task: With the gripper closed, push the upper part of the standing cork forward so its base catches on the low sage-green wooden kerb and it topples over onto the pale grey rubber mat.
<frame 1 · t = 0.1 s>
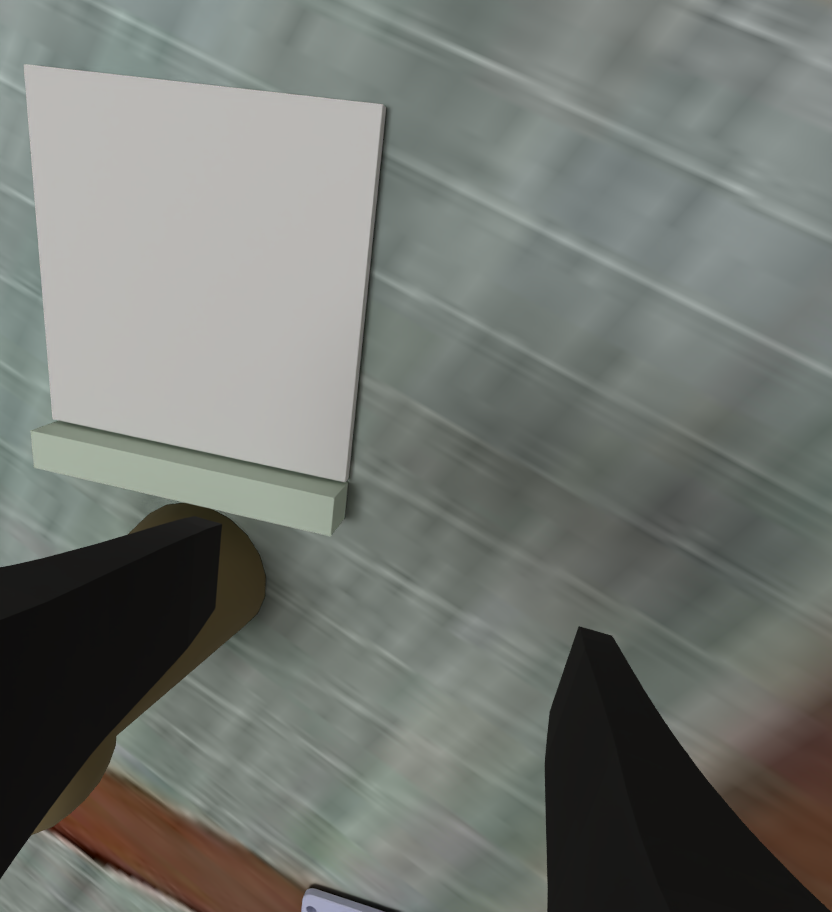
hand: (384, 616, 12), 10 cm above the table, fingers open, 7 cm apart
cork: (200, 568, 26), on the table
kerb: (198, 467, 24), on the table
mat: (199, 284, 21), on the table
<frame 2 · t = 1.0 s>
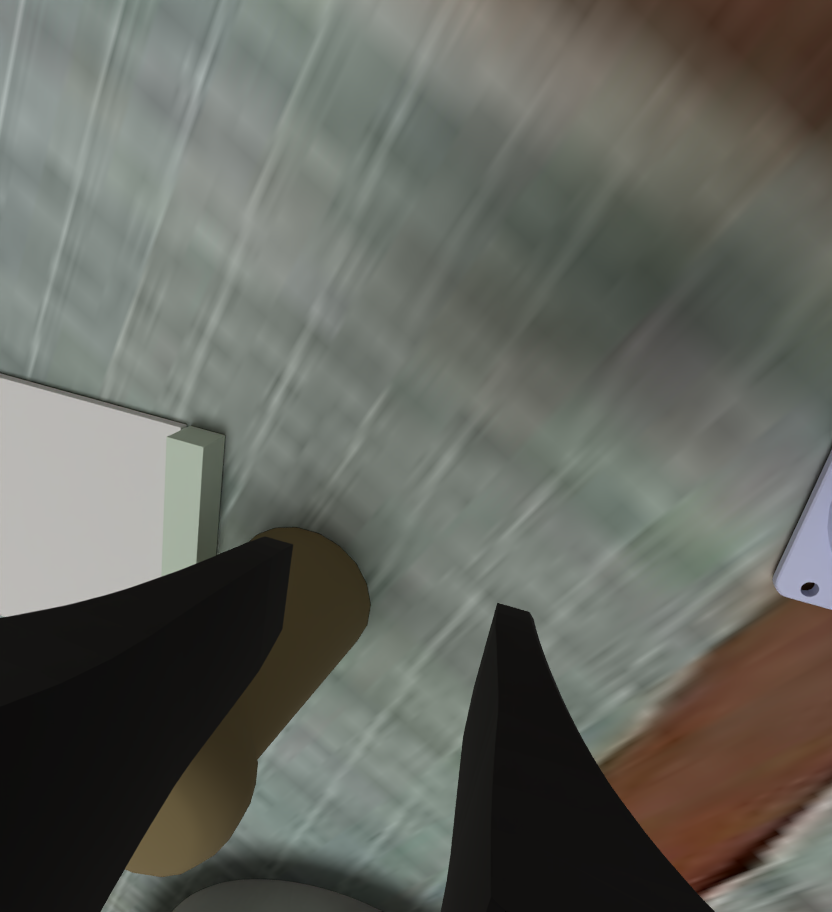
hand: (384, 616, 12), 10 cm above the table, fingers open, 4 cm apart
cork: (302, 591, 25), on the table
kerb: (199, 562, 26), on the table
mat: (58, 518, 27), on the table
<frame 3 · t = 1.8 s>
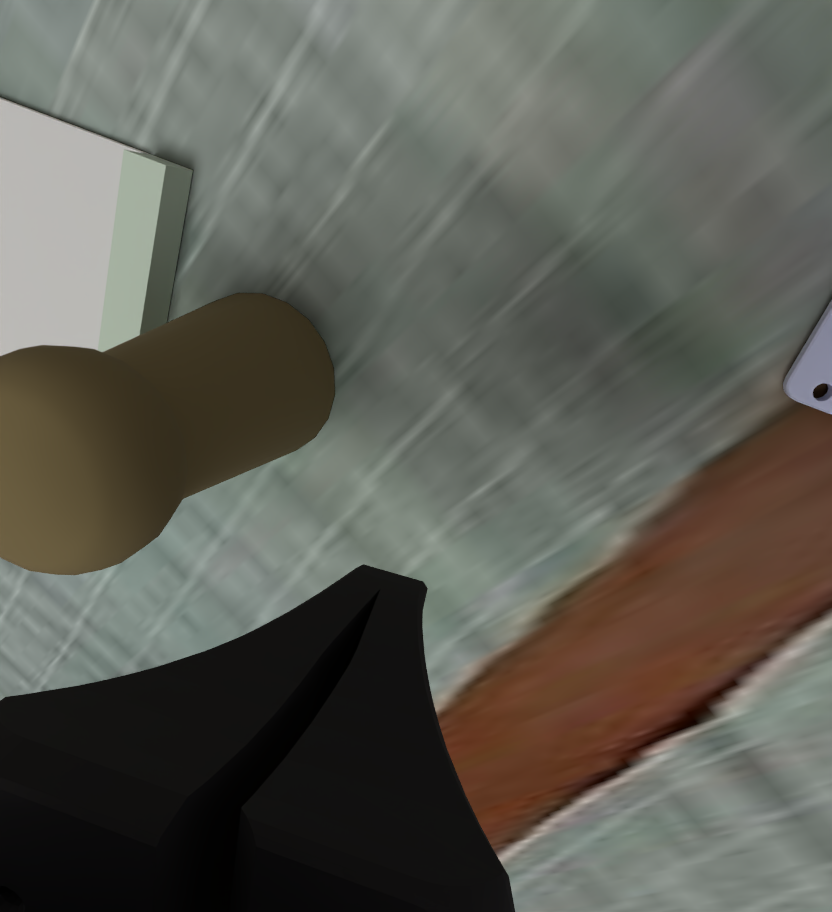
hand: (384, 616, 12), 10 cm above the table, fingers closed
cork: (259, 376, 23), on the table
kerb: (146, 332, 23), on the table
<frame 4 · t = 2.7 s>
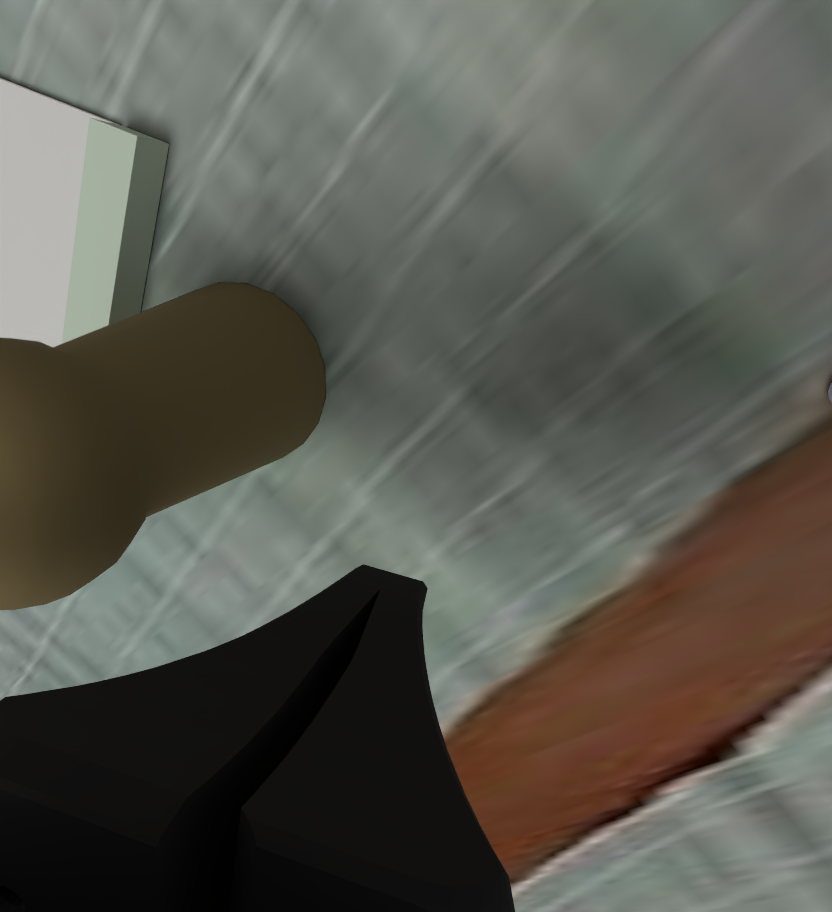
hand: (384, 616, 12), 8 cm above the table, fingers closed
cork: (242, 375, 21), on the table
kerb: (117, 324, 21), on the table
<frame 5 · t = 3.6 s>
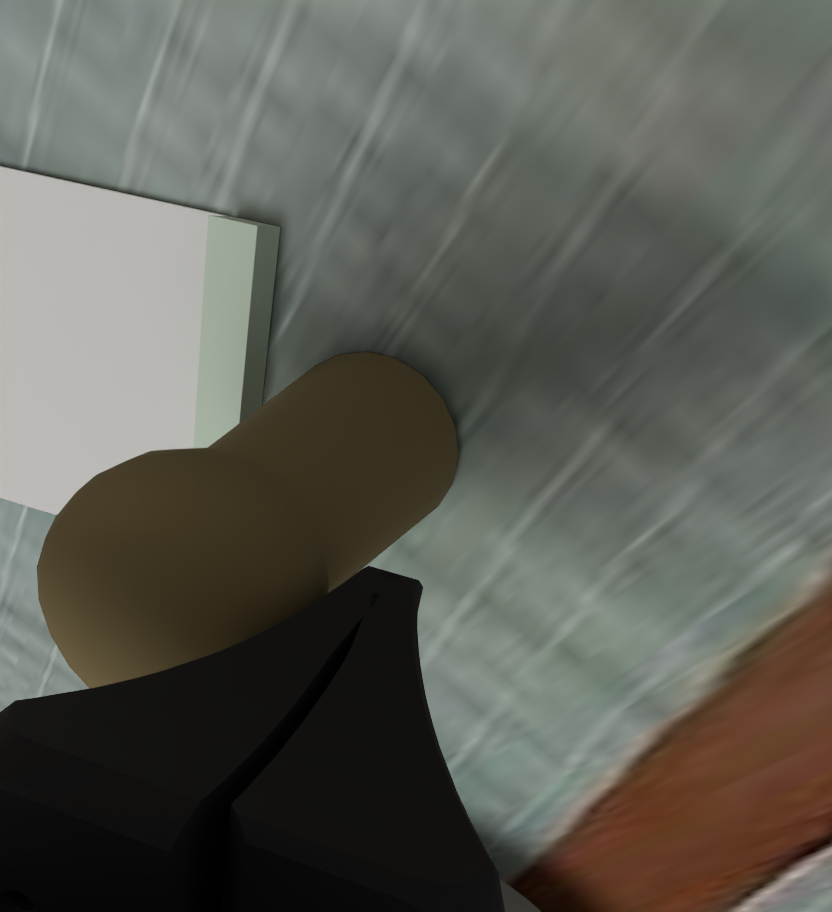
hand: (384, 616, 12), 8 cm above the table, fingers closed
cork: (369, 443, 20), on the table, touching gripper
kerb: (240, 408, 21), on the table
mat: (61, 361, 22), on the table
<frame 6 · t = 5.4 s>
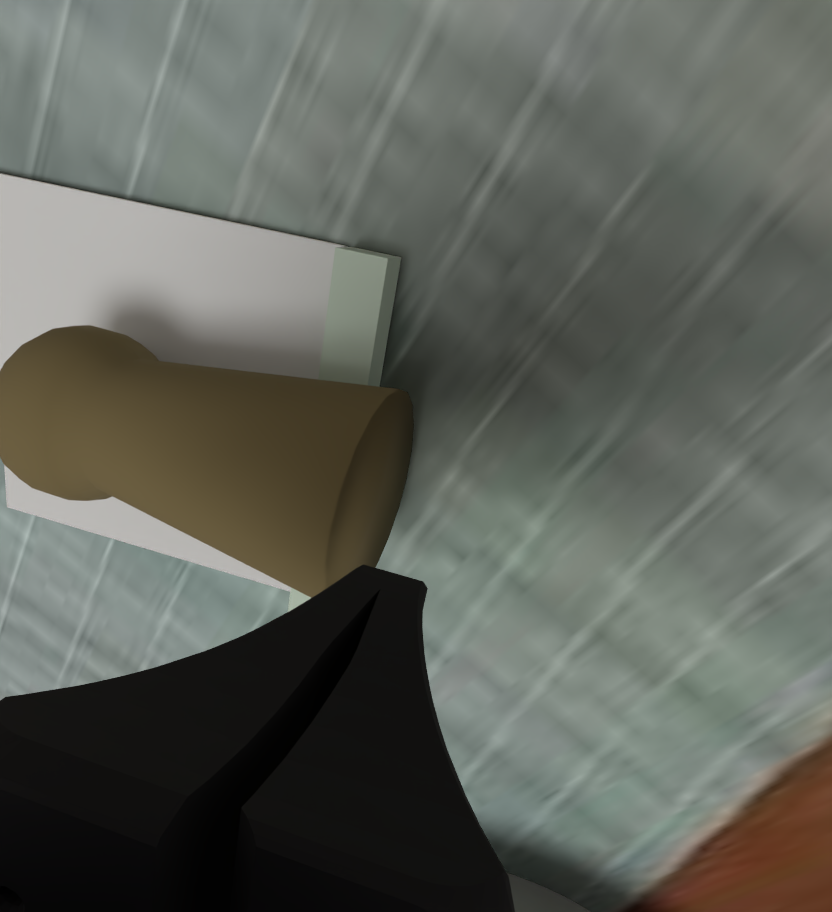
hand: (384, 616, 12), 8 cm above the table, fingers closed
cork: (381, 501, 16), point 4 cm above the table, touching kerb, mat
kerb: (347, 441, 20), on the table
mat: (158, 392, 21), on the table
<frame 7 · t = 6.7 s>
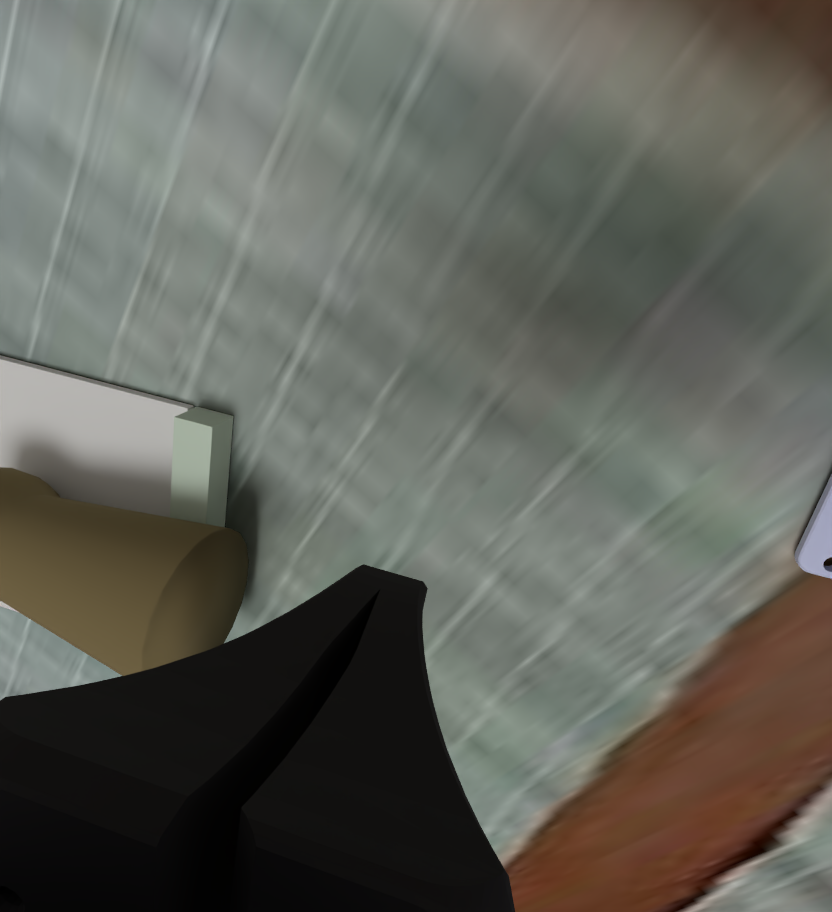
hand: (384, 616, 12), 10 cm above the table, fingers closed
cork: (206, 612, 22), point 4 cm above the table, touching kerb, mat
kerb: (205, 548, 25), on the table
mat: (59, 504, 26), on the table
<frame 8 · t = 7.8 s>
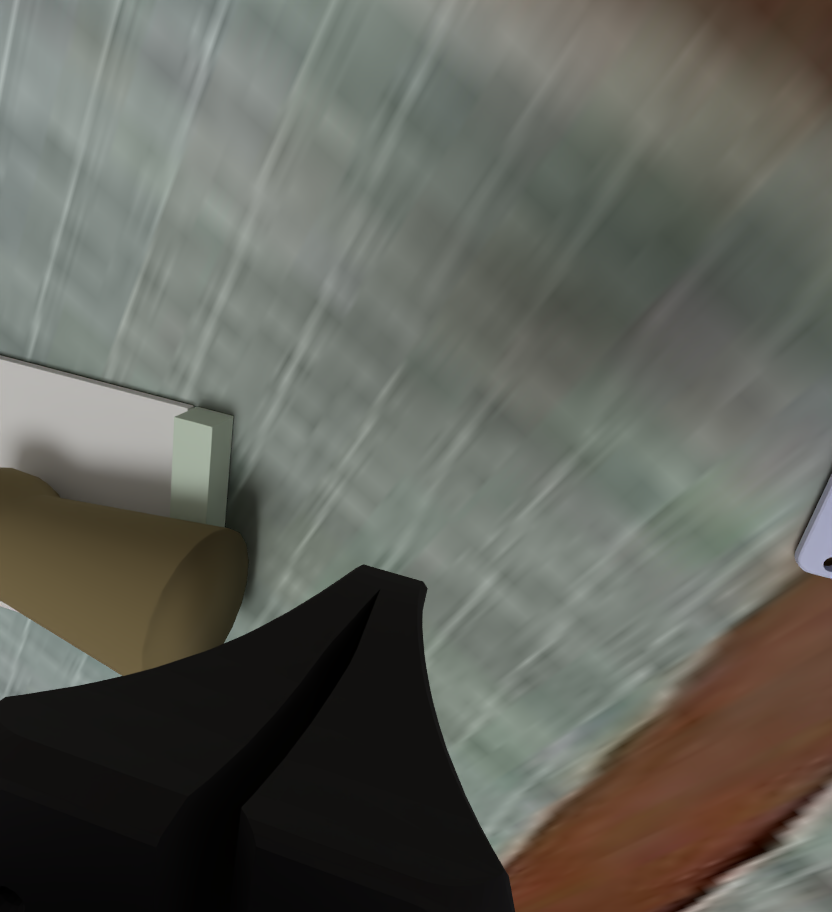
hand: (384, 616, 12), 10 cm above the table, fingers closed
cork: (206, 612, 22), point 4 cm above the table, touching kerb, mat
kerb: (205, 548, 25), on the table
mat: (59, 504, 26), on the table
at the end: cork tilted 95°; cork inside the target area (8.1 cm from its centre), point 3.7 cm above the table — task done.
